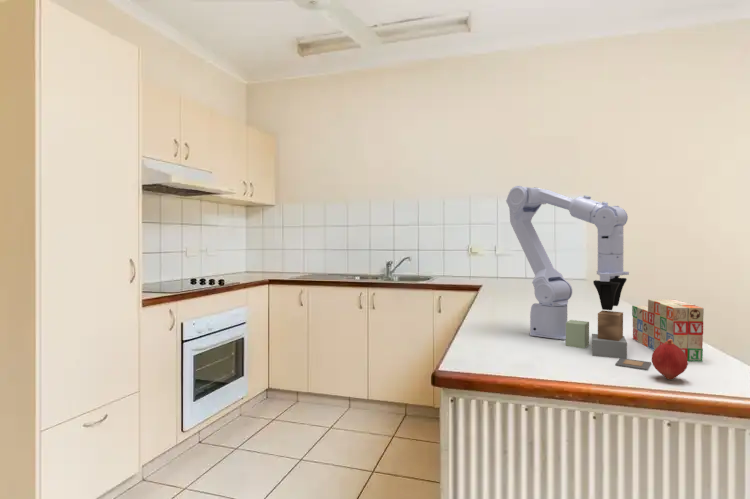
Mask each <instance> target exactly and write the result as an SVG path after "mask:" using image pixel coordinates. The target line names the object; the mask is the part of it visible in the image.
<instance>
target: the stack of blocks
mask: <svg viewBox="0 0 750 499" xmlns="http://www.w3.org/2000/svg"><path fill="white" fill-rule="evenodd" d="M631 310H632V311H631V314H632V315H631V316H632V339H633V340H635V341H637V342H638V343H640V344H642V345H643V346H645V347H647V348H649V349H651V350H653V351H655V349H656V348H657V347H658V346H659V345H661V344H663V343H665V342H666V341H667V340H668V339H672V340H673V343H674V344H675V345H676V346H678V347H679V348H680V349H681V350H682V351H683V352H684V353H685V355H686V357H687V360H688V362H703V356H704V354H703V352H704V348H703V342H704V338H703V337H704V336H703V335H704V315H705V314H704V307H701V306H698V305H696V304H693V303H691V302H690V303H689V302H684V301H680V300H676V299H670V298H669V299H667V298H665V299H663V298H662V299H658V298H655V299H654V298H653V299H652V298H651V299H650V298H649V299H648V300H647V305H632V307H631Z"/></svg>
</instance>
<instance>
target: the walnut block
mask: <svg viewBox="0 0 750 499" xmlns="http://www.w3.org/2000/svg"><path fill="white" fill-rule="evenodd" d="M597 334H598V339H606V340H614V341H620V340H621V339H622V338H623V336H624V312H622V311H613V310H601V311H599V312H598V313H597Z"/></svg>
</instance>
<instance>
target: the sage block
mask: <svg viewBox="0 0 750 499" xmlns="http://www.w3.org/2000/svg"><path fill="white" fill-rule="evenodd" d="M565 346H566V347H571V348H579V349H586V348H588V346H590V321H586V320H585V321H583V320H576V319H570V320H567V322H566V339H565Z"/></svg>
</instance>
